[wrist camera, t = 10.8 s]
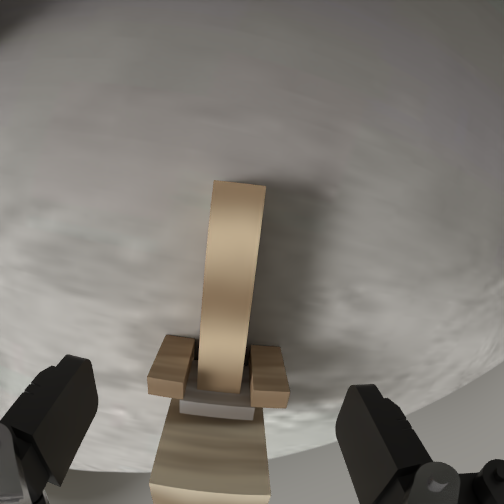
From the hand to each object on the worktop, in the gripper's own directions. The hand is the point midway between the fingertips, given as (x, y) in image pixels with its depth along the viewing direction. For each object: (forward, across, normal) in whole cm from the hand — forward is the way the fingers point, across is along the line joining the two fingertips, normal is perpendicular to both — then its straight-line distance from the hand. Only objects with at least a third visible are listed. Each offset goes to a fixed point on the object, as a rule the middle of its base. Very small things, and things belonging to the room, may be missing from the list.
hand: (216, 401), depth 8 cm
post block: (+15, 0, +10) cm, 18 cm away
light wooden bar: (+14, 0, +1) cm, 14 cm away
